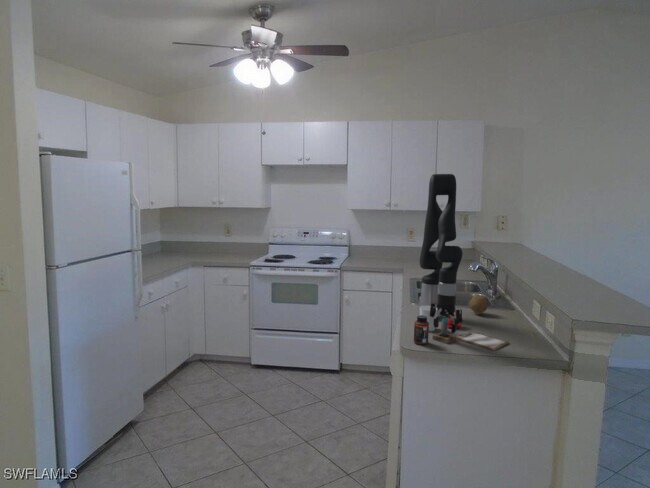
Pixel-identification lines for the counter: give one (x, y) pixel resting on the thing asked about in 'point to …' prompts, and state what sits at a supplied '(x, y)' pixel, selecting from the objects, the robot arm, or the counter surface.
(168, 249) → the counter surface
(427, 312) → the white cup
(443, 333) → the marker
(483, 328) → the counter surface
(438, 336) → the marker stand
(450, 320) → the cap
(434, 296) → the robot arm
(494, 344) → the clipboard
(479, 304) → the natural sponge
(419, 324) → the supplement bottle
